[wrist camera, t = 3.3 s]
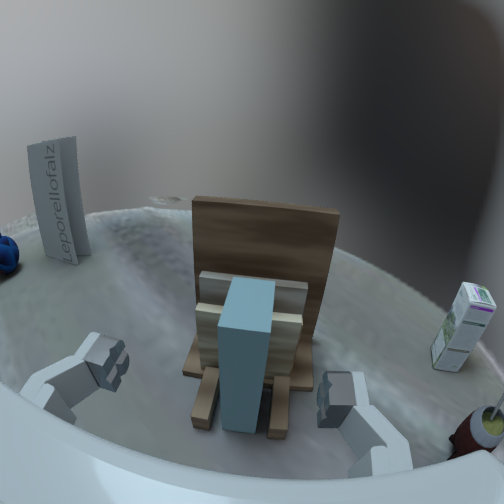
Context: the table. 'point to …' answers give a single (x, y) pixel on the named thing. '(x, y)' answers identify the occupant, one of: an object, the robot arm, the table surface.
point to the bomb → (8, 254)
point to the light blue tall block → (244, 351)
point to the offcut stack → (282, 327)
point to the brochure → (58, 198)
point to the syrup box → (462, 327)
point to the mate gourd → (479, 431)
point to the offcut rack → (264, 266)
